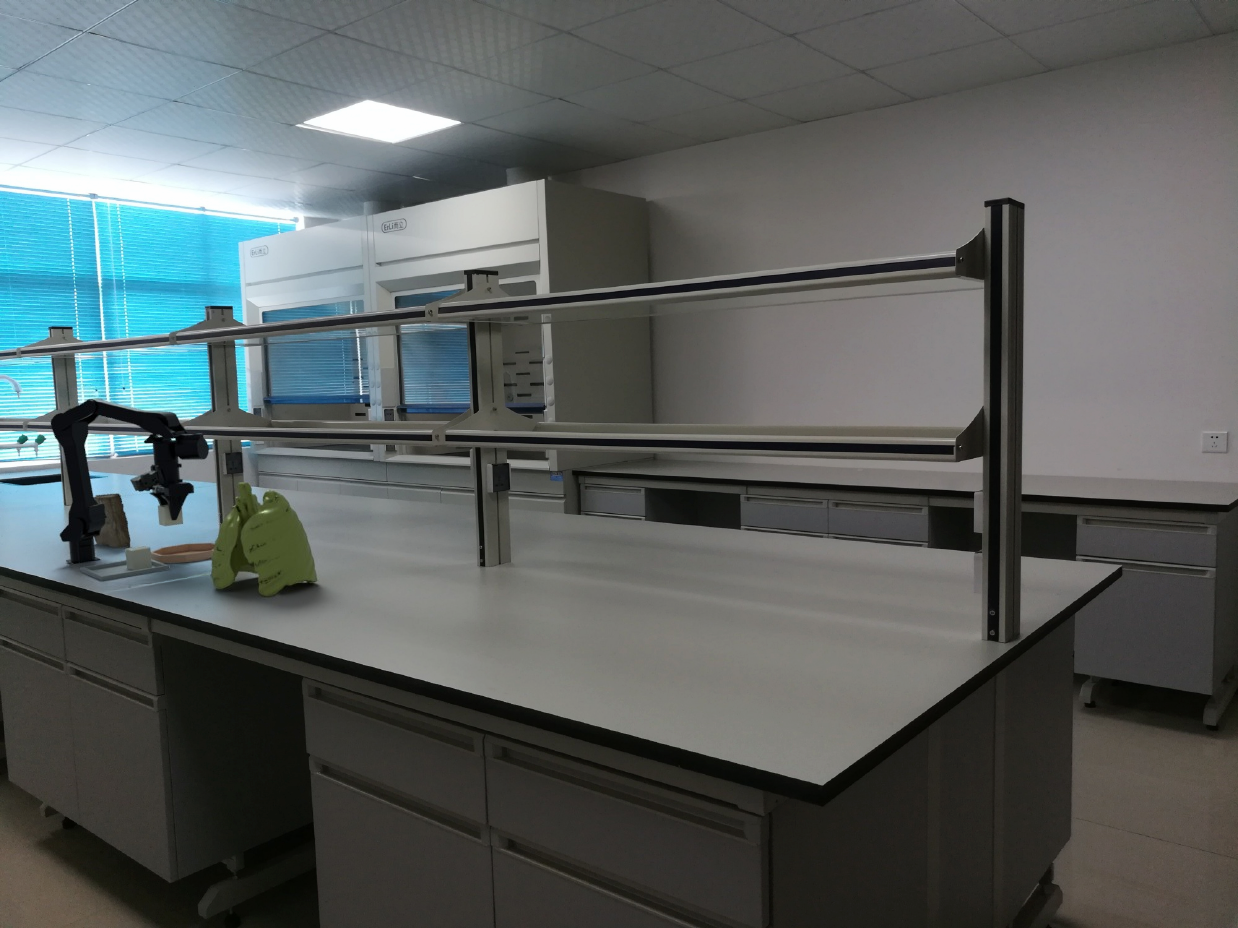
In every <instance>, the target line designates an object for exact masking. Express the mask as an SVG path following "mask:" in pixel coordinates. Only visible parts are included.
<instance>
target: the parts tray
mask: <svg viewBox="0 0 1238 928" xmlns="http://www.w3.org/2000/svg"><path fill="white" fill-rule="evenodd" d="M151 562H152V568H146V569H140V570H134V571H133V570H130V569H127V563H126V559H125V560H119V561H112V562H111V561H110V562H106V563H100V564H95V565H94V564H93V565H87V566H80V567H79V572H81V573H82V574H85V575H88V576H89V577H92V578H95V579H96V580H99V581H101V582H105V581H110V580H116V579H122V578H128V577H132V576H141V575H147V574H152V573H158V572H163V571H168V570H171V569H170V568H171V567H170V565H169V564H168V563H161V562H158V561H155V560H152V559H151Z"/></svg>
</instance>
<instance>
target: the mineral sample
mask: <svg viewBox="0 0 1238 928" xmlns="http://www.w3.org/2000/svg"><path fill="white" fill-rule="evenodd" d="M93 497H94V499H95V500H96V502H97V503H98V504H102V503H103V504H104V506H105V514H106V516H107V518H106V519H105V525H104V526H103V527H102V528H101V532H100V535H99V536H95V537H94V542H95V543H96V544H97V545H100V546H109V547H112V548H114V549H120V548H121V549H122V548H128V547H129V548H131V535H130V531H129V522H128V519H127V518H128V517H127V514H126V511H125V510H124V503H123V500H122V497H121V494H120V493H118V492H117V493H110V494H109V493H107V494H96V495H95V496H93Z"/></svg>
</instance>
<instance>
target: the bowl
mask: <svg viewBox="0 0 1238 928" xmlns="http://www.w3.org/2000/svg"><path fill="white" fill-rule="evenodd" d="M214 546H215V542H195V543H193V542H192V543H191V542H190V543H188V542H187V543H181V544H176V545H168V546H162V547H160V548H157V549H155V550H151V559H152V560H155V561H158V562H161V563H164V564H181V563H182V564H183V563H191V562H200V561H206V560H209V559H211V556H212V554H213V550H214Z"/></svg>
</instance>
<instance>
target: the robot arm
mask: <svg viewBox="0 0 1238 928" xmlns="http://www.w3.org/2000/svg"><path fill="white" fill-rule="evenodd" d="M99 416H100V417H104V418H108V419H112V420H115V421H116V420H117V421H120V422H123V423H128V424H131V425H135V426H137V427H139V428H140V429H142V430H143V431H144V432H145V431H146V432H147V433H150V434H149V436H148V437H147V438H146V439H145V440H144V441H143V443H144V444H147V445H148V444H152V452H153V454H152V455H153V464H151V465H150V470H149V471H147V472H143V473H142V474H140V475H139V474H138V475H137V476H135V477H132V478H131V479H129V481H130V483H131V484H132V487H133V488H134V491H135V492H137V491H138V492H140V493H141V492H144V491H145V492H149V495H151V496H152V497H154V498H155V499H156V500H157V502H158V505H159V506H160V505H168V507H169V511H170V515H171V519H172V520H177V518H178V515H179V513H180V510H181V508H182V509H183V505H184V504H185V501H186V499H187V497H188V496H190V494H194V493H195V485H194V484H192V483H191V482H189V481H188V482H187V481H184V479H183V478H181V477H180V468H181V469H182V468H183V466H182V464H183V463H180V462H179V459H180V460H182V461H184V460H185V461H187V460H188V461H192V460H193V461H194V460H196V461H197V460H202V461H203V460H206V459H207V458H208V455H209V451H210V447H209V445H208V441H207V440H206V438H205V437H204V433H202V432H201V433H200V432H199V433H194V434H191V433H189V432H188V431H187V429H186V428H185V427H184V425H182V423H181V422H180V419H179V417H178V415H177V413H174V412H172V411H162V410H144V409H140V408H136V407H132V406H127V405H123V404H120V403H117V402H112V401H109V400H104V399H103V398H99V397H98V398H88V399H86V400H85V401H83V402H82V403H80V404H79V405H78V404H77V406H74V407H72V408H70V409H67V410H65V411H64V412H59V413H58V412H57V413H56V414H55V415H54V416H53V417H52V418H51V419H50V426H51V431H52V433H53V435H54V438H55V440H56V441H57V442H58V443H59V444H60V445H61V447H62V450H63V456H64V460H65V461H64V462H65V466H66V472H67V473H66V474H67V478H68V484H69V489H70V494H71V504H70V508H69V510H68V517H67V519H68V524H67V525H66V527H64V528H63V530H62V531H61V532H60V533H59V537H60V541H62V542H63V543H68V546H69V557H70V559H66V560H65V562H66V563H68V564H70V565H78V564H83V563H91V562H96V561H101V558H100V557H96V548H95V538H94V537H95V536H99V535H100V532H101V528H102V527H103V526H104V525H105V519H106V518H107V516H106V514H105V506H104V504H103V503H102V504H98V503H97V502H96V500H95V499H94V497H95V496H94V493H93V487H92V482H91V476H90V469H89V464H88V458H87V452H86V447H85V446H86V445H85V444H86V441H87V438H88V435H89V425H91V424H92V423H94V422H95V421H96V420H97V419H98V418H99ZM151 490H152V491H151Z"/></svg>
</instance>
